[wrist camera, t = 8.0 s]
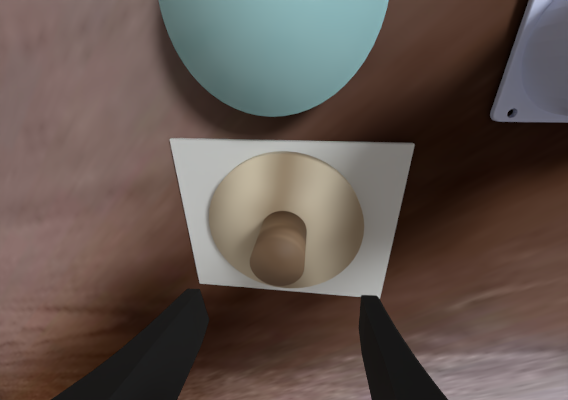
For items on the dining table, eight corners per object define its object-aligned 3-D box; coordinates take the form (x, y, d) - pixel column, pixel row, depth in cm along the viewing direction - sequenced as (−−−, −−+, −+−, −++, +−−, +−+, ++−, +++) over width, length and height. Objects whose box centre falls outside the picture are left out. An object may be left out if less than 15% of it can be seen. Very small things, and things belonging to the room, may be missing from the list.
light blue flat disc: (395, -145, 11) (419, -213, 9) (363, 110, 16) (372, 117, 14) (166, -123, 12) (125, -177, 10) (200, 109, 17) (179, 115, 15)
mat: (412, 142, 17) (414, 144, 16) (378, 295, 23) (379, 298, 23) (172, 137, 19) (169, 139, 18) (201, 280, 25) (199, 283, 24)
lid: (361, 142, 17) (378, 166, 12) (362, 278, 22) (373, 330, 17) (195, 159, 19) (158, 185, 14) (231, 281, 24) (212, 328, 19)
